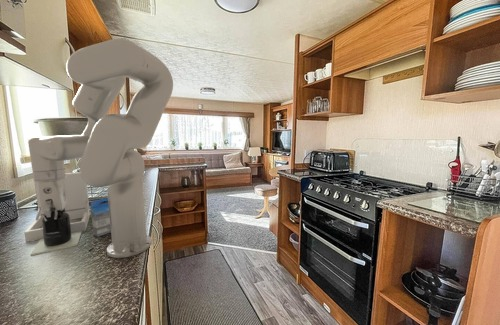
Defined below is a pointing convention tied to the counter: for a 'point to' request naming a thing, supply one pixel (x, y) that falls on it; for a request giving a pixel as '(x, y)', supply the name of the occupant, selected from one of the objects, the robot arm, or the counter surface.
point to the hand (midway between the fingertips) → (57, 226)
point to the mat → (43, 248)
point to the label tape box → (100, 217)
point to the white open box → (74, 207)
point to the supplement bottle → (61, 235)
